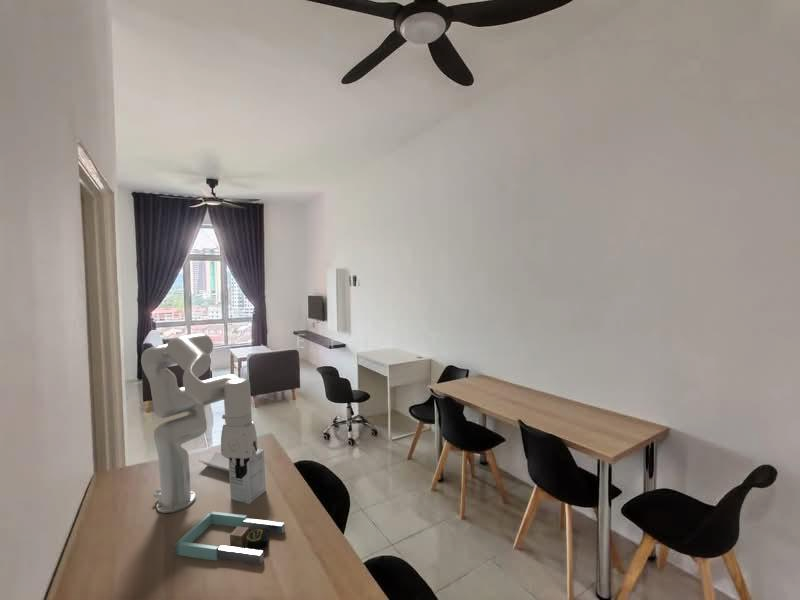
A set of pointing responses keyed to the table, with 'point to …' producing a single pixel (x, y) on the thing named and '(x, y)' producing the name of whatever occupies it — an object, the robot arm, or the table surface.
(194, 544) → the u shaped frame
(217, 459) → the z bracket
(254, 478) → the supplement box
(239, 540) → the tan cardboard cube
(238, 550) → the slot rails
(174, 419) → the robot arm
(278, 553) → the table surface
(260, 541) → the tape measure
